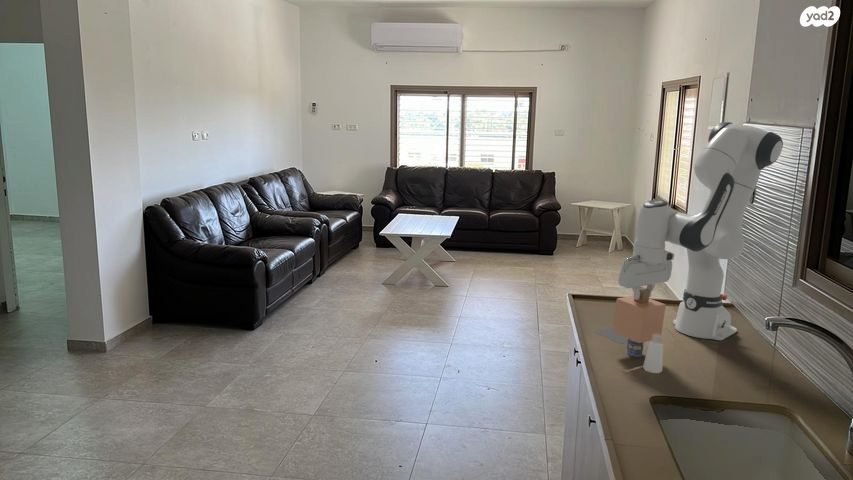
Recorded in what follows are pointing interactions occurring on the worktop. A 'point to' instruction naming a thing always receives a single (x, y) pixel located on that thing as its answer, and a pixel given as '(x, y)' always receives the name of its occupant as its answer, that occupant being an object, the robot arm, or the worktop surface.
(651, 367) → the pepper shaker
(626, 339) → the mat
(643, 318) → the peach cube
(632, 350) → the pill bottle
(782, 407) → the worktop surface
